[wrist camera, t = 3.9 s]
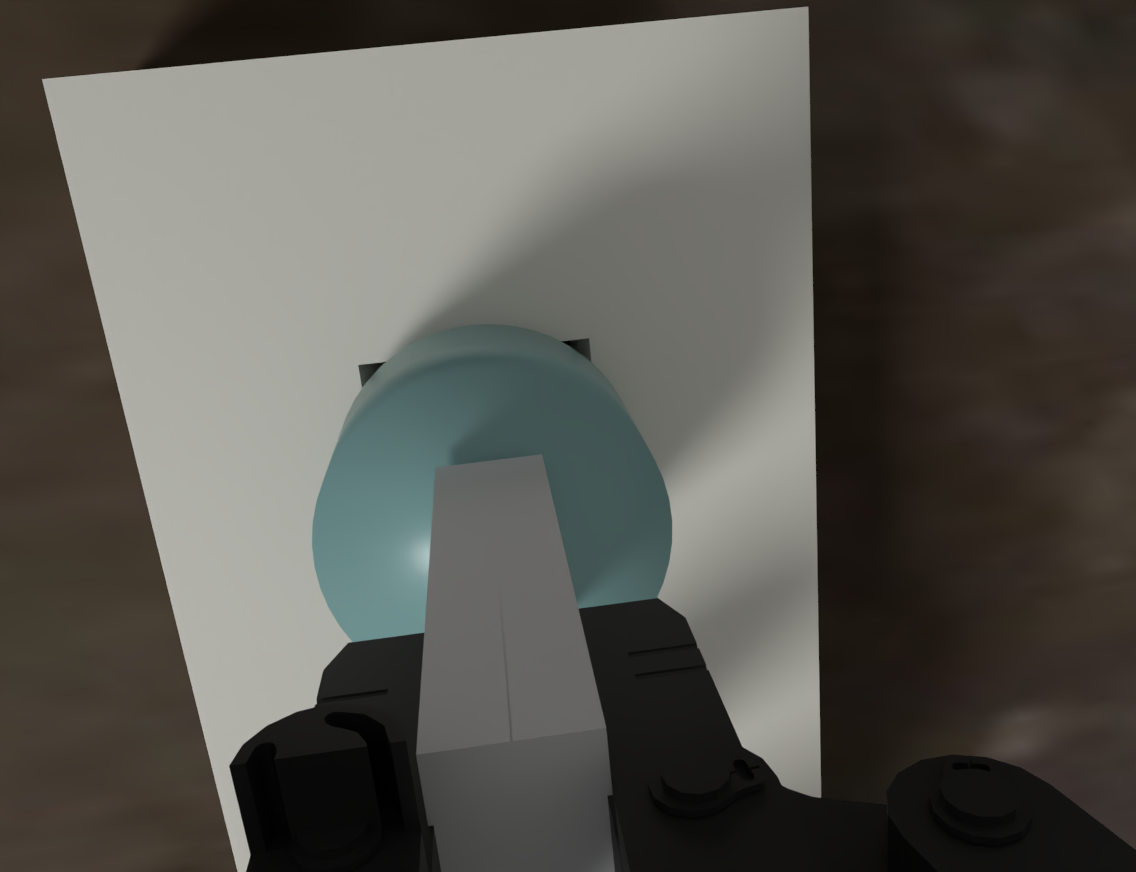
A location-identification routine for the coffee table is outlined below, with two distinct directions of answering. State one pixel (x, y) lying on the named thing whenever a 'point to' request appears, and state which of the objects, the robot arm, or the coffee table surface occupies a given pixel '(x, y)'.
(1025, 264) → the coffee table surface
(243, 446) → the mount board
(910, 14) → the coffee table surface
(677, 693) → the robot arm
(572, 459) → the knob teal
